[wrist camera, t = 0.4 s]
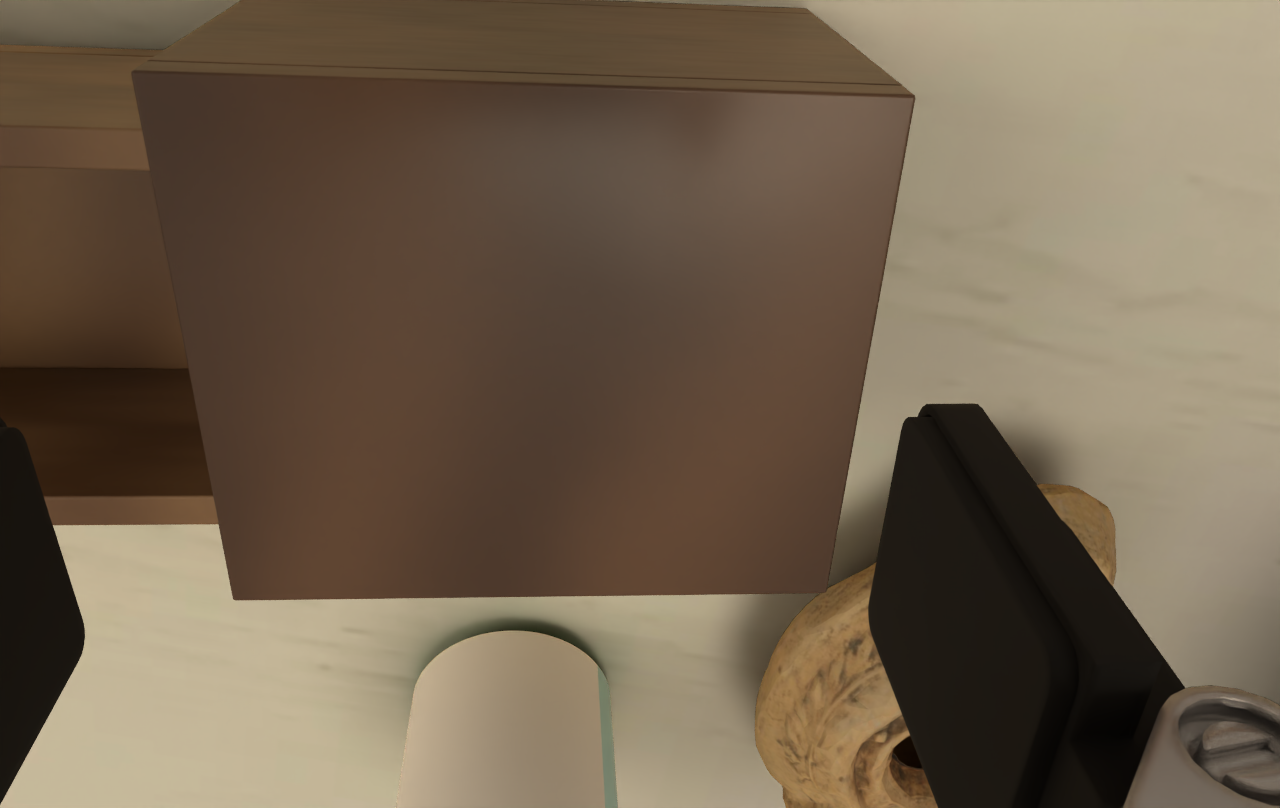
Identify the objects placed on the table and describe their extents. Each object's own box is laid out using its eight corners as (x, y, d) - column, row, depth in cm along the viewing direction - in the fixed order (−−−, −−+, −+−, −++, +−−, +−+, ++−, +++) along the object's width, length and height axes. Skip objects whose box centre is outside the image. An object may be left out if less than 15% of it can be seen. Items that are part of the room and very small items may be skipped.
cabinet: (313, 399, 31) (232, 601, 23) (260, -14, 25) (128, 70, 17) (759, 401, 32) (826, 594, 24) (807, 8, 26) (916, 95, 18)
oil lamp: (1138, 450, 34) (1287, 613, 27) (965, 760, 41) (1048, 951, 34) (829, 396, 32) (905, 556, 25) (704, 730, 39) (736, 927, 32)
